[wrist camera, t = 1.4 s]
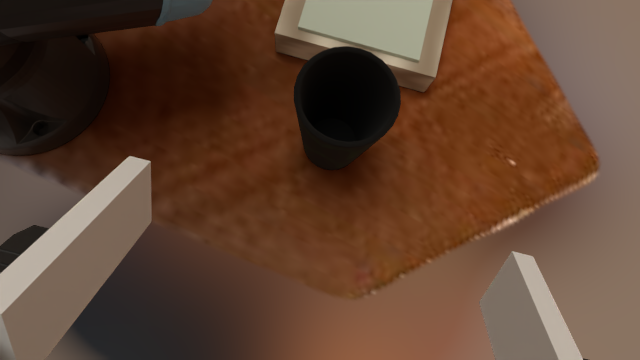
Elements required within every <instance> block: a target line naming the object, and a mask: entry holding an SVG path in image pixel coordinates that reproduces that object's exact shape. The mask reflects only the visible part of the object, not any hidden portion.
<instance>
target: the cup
mask: <svg viewBox="0 0 640 360" xmlns="http://www.w3.org/2000/svg"><path fill="white" fill-rule="evenodd" d="M294 103H295V107H296V112H297V117H298V122H299V126H300V131H301V136H302V140H303V145H304V149H305V153H306V155H307V157H308V158H309V159H310V160H311V162H312V163H314V164H315V165H316V166H318V167H320V168H323V169H327V170H338V169H341V168H344V167H345V166H347V165H348V164H350V163H351V162H352V161H353V160H355V159H356V158H357V157H358V156H360V155H361V154H362V153H363V152H364V151H366V150H367V149H368V148H369V147H370V146H372V145H373V144H374V143H375V142H376V141H378V140H379V139H380V138H381V137H383V136H384V135H385V134H386V133H387V131H388V130H389V129H390V128H391V127H392V126H393V124H394V122H395V120H396V118H397V116H398V113H399V109H400V104H401V100H400V89H399V85H398V82H397V79H396V77H395V76H394V74H393V72H392V70H391V69H390V68H389V67H388V66H387V64H386V63H385V62H384V61H383V60H382V59H380V58H379V57H377V56H376V55H374V54H373V53H371V52H369V51H366V50H363V49H361V48H356V47H350V46H342V47H333V48H330V49H327V50H323V51H321V52H320V53H318V54H316V55H315V56H313V57H312V58H311V59H310V60H309V61H308V62H307V63H306V64H305V65H304V66H303V67H302V69H301V71H300V72H299V74H298V76H297V79H296V83H295V86H294Z"/></svg>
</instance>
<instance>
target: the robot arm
mask: <svg viewBox="0 0 640 360" xmlns="http://www.w3.org/2000/svg"><path fill="white" fill-rule="evenodd" d="M211 3H212V0H0V153H2V154H8V155H30V154H37V153H41V152H45V151H48V150H51V149H54V148H56V147H59V146H61V145H63V144H65V143H67V142H68V141H70V140H72V139H73V138H75V137H76V136H77V135H79V134H80V133H81V132H82V131H83V130H84V129H85V128H86V127H87V126H88V125H89V124H90V123H91V122H92V121H93V120H94V118H95V117H96V116H97V114H98V112H99V111H100V109H101V107H102V105H103V103H104V101H105V98H106V95H107V92H108V87H109V78H110V73H109V64H108V60H107V56H106V53H105V51H104V49H103V47H102V45H101V43H100V42H99V40H98V39H97V38H96V36H95V35H94V34H93V33H100V32H108V31H115V30H123V29H131V28H139V27H146V26H161V25H163V24H165V22H168V21H173V20H177V19H182V18H187V17H191V16H196V15H199V14H201V13H203V12H204V11H205V10H206V9H207V8H208V7H209V6H210V4H211ZM151 222H152V211H151V161H148V160H144V159H140V158H136V157H132V156H129V157H128V158H127V159H125V160H124V161H123V162H122V163H121V164H120V165H119V166H118V167H117V168H116V169H114V170H113V171H112V172H111V173H110V174H109V175H108V176H107V177H106V178H105V179H104V180H102V181H101V182H100V183H99V184H98V185H97V186H96V187H95V188H94V189H93V190H91V191H90V192H89V193H88V194H87V195H86V196H85V197H84V198H83V199H82V200H80V201H79V202H78V203H77V204H76V205H75V206H74V207H73V208H72V209H71V210H70V211H68V212H67V213H66V214H65V215H64V216H63V217H62V218H61V219H60V220H59V221H57V222H56V223H55V224H54V225H53V226H52V227H51V228H50V229H48V228H44V227H40V226H36V225H33V226H31V227H29V228H27V229H25V230H23V231H20V232H18V233H16V234H14V235H13V236H12V237H10V238H9V239H8V240H7V241H5V242H4V243H3V244H2V245H1V246H0V360H45V359H46V358H47V356H48V355H49V354H50V353H51V351H52V350H53V349H54V347H55V346H56V344H57V343H58V342H59V341H60V340H61V338H62V337H63V335H64V334H65V333H66V332H67V330H68V329H69V328H70V327H71V325H72V324H73V323H74V321H75V320H76V319H77V318H78V316H79V315H80V314H81V312H82V311H83V310H84V308H85V307H86V306H87V305H88V303H89V302H90V300H91V299H92V298H93V297H94V296H95V294H96V293H97V291H98V290H99V289H100V288H101V286H102V285H103V284H104V282H105V281H106V280H107V279H108V277H109V276H110V275H111V273H112V272H113V271H114V270H115V268H116V267H117V266H118V264H119V263H120V262H121V261H122V259H123V258H124V256H125V255H126V254H127V253H128V251H129V250H130V249H131V248H132V246H133V245H134V244H135V242H136V241H137V240H138V238H139V237H140V236H141V234H142V233H143V232H144V230H145V229H146V228H147V227H148V226H149V224H150V223H151ZM479 304H480V307H481V311H482V314H483V318H484V321H485V325H486V328H487V332H488V336H489V339H490V342H491V346H492V350H493V353H494V357H495V360H588V359H583V358H582V356H581V354H580V352H579V350H578V348H577V346H576V344H575V342H574V340H573V338H572V336H571V334H570V332H569V330H568V327H567V326H566V324H565V321H564V319H563V317H562V315H561V313H560V311H559V309H558V307H557V305H556V303H555V301H554V299H553V297H552V295H551V293H550V290H549V288H548V286H547V285H546V283H545V280H544V278H543V276H542V274H541V272H540V270H539V268H538V266H537V264H536V262H535V260H534V258H533V256H529V255H525V254H521V253H517V252H513V251H512V252H511V254H510V255H509V257H508V258H507V260H506V262H505V263H504V265H503V266H502V268H501V269H500V271H499V272H498V274H497V275H496V277H495V278H494V280H493V281H492V283H491V285H490V286H489V288H488V289H487V291H486V292H485V294H484V295H483V297H482V298H481V300H480V301H479Z"/></svg>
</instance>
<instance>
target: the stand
mask: <svg viewBox="0 0 640 360" xmlns="http://www.w3.org/2000/svg"><path fill="white" fill-rule="evenodd" d="M451 4H452V0H285V2H284V5H283V8H282V11H281V15H280V18H279V21H278V24H277V27H276V30H275V44H276V52H280V53H283V54H287V55H291V56H294V57H298V58H301V59H305V60H310V59H311V58H312V57H313V56H315V55H316V54H318V53H320V52H321V51H323V50H327V49H330V48H333V47H342V46H350V47H356V48H361V49H363V50H366V51H369V52H371V53H373V54H374V55H376V56H377V57H379V58H380V59H382V60H383V61H384V62H385V63H386V64H387V66H388V67H389V68H390V69H391V70H392V72H393V74H394V76H395V77H396V79H397V82H398V85H399V86H402V87H406V88H409V89H413V90H417V91H420V92H425V90H426V89H427V88H428V87H429V85H430V84H431V83H432V82H433V80H434V79H435V78H436V74H437V69H438V64H439V60H440V55H441V50H442V46H443V41H444V37H445V32H446V27H447V23H448V18H449V14H450V9H451Z"/></svg>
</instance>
